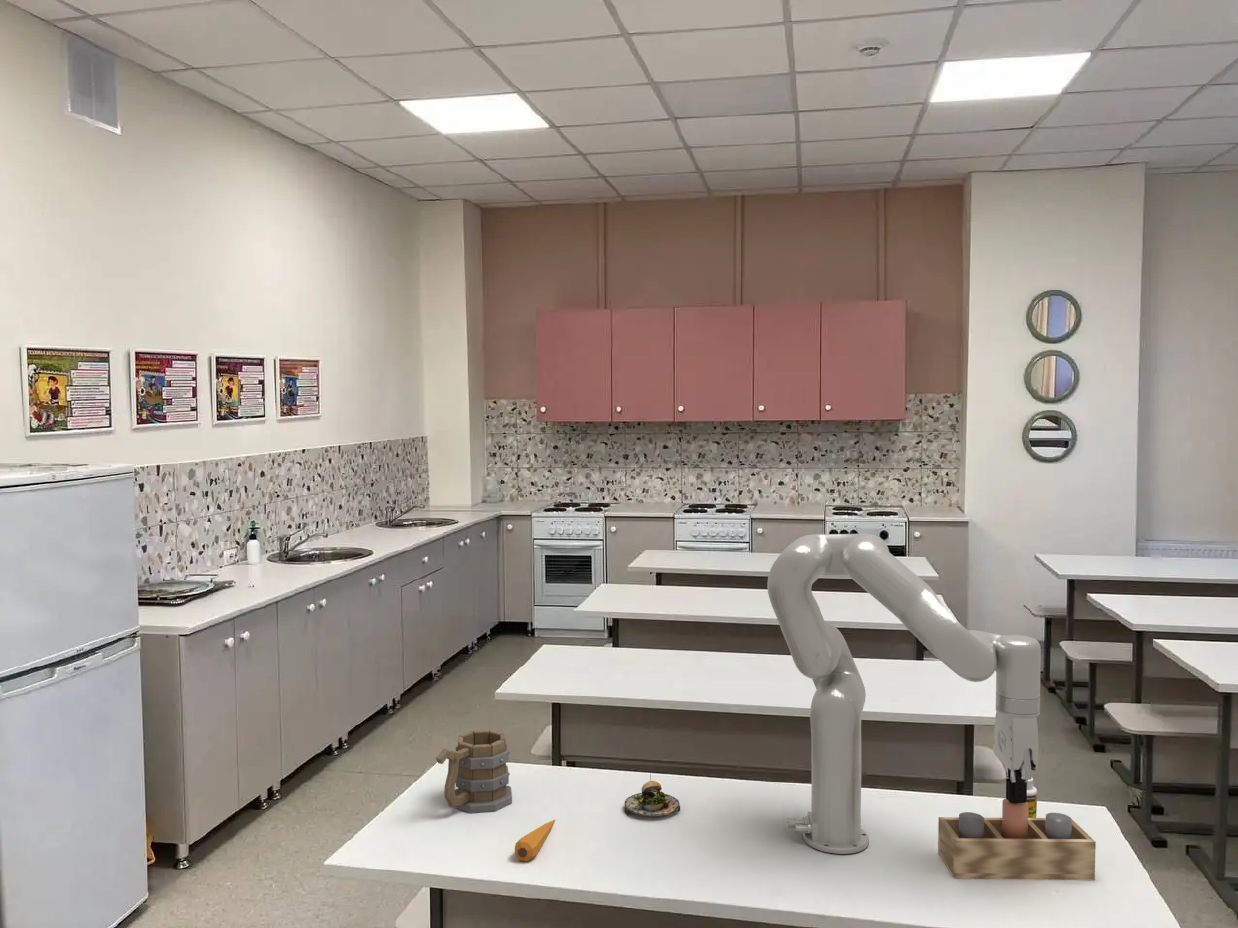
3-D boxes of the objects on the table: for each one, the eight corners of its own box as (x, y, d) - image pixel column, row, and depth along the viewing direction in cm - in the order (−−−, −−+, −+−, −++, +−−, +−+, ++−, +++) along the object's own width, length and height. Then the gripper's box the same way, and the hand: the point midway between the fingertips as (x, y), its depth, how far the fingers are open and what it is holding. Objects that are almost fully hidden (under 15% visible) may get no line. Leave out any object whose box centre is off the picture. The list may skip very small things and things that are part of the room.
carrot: (528, 869, 180) (537, 847, 179) (507, 857, 181) (516, 835, 180) (560, 833, 199) (569, 814, 199) (542, 823, 200) (550, 803, 200)
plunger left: (962, 859, 176) (963, 822, 176) (955, 848, 181) (955, 811, 180) (987, 859, 176) (987, 822, 176) (978, 848, 180) (979, 812, 180)
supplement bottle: (1025, 834, 191) (1026, 784, 190) (1000, 824, 196) (1001, 775, 195) (1042, 827, 194) (1043, 778, 194) (1017, 818, 199) (1018, 769, 198)
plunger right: (1050, 859, 176) (1051, 822, 175) (1040, 848, 180) (1041, 812, 180) (1075, 859, 176) (1076, 822, 175) (1064, 848, 180) (1065, 812, 180)
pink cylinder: (1007, 844, 176) (1007, 807, 175) (998, 834, 180) (998, 797, 180) (1031, 844, 176) (1032, 807, 175) (1021, 834, 180) (1022, 797, 180)
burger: (618, 819, 199) (618, 784, 199) (630, 797, 211) (630, 764, 210) (675, 825, 197) (675, 789, 196) (684, 802, 208) (684, 768, 208)
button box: (955, 878, 174) (955, 840, 173) (937, 852, 183) (938, 816, 183) (1094, 879, 173) (1095, 841, 172) (1070, 853, 183) (1070, 817, 182)
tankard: (481, 784, 218) (480, 719, 217) (523, 797, 210) (522, 730, 209) (415, 815, 201) (413, 745, 200) (457, 830, 194) (456, 757, 193)
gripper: (982, 691, 184) (981, 785, 185) (1012, 716, 169) (1011, 818, 170) (1022, 691, 184) (1020, 785, 185) (1055, 716, 169) (1053, 818, 170)
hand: (1016, 800), depth 177 cm, fingers closed
